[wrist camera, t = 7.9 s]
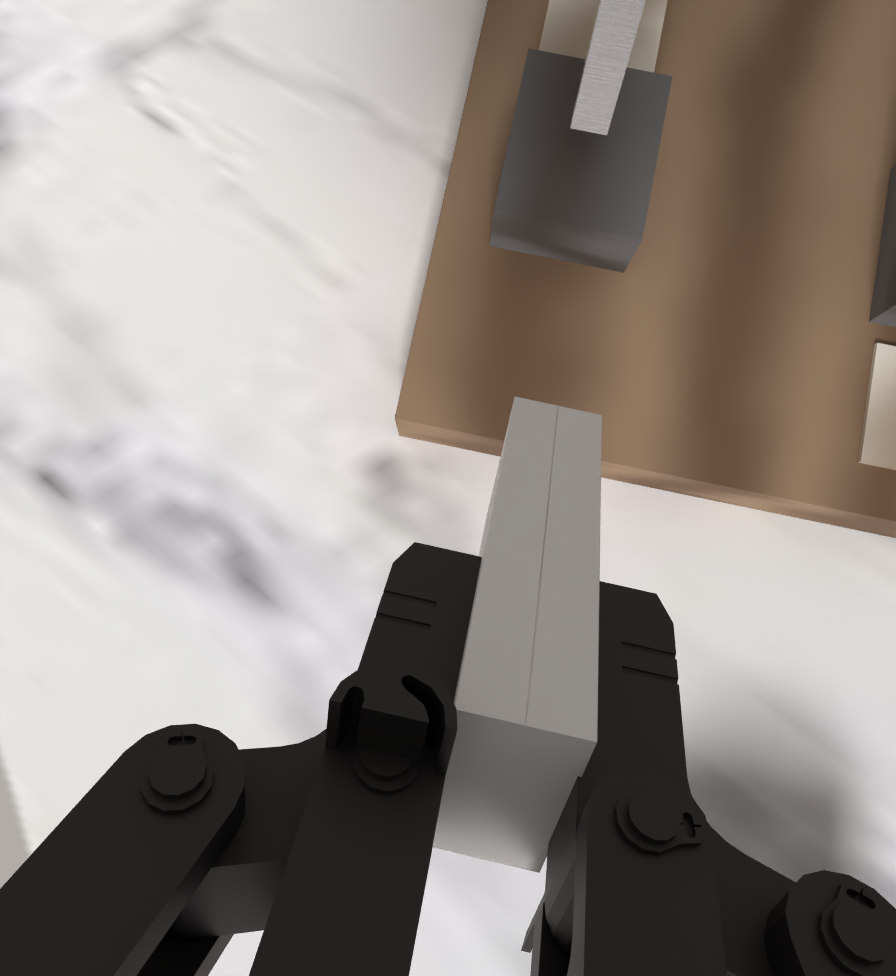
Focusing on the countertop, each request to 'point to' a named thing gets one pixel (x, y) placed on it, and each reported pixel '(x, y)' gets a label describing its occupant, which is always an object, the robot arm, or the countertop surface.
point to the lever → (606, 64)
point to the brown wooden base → (679, 253)
